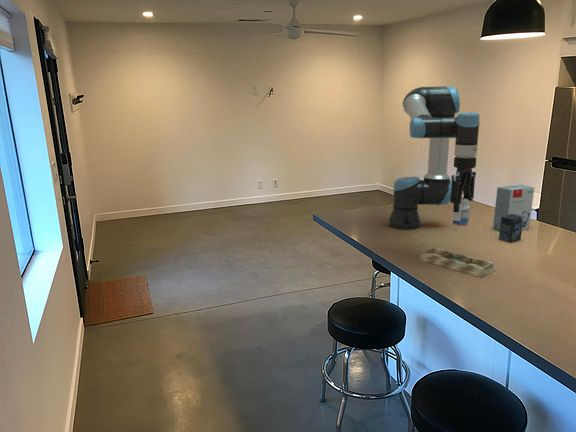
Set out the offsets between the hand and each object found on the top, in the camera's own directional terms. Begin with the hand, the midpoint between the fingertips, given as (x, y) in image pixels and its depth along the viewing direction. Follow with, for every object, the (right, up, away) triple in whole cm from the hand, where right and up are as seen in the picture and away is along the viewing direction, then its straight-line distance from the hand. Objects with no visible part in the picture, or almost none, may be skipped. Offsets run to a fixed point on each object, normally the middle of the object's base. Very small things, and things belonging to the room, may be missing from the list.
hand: (460, 219), depth 174 cm
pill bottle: (0, -2, +1) cm, 3 cm away
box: (+32, -9, +29) cm, 44 cm away
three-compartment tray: (-2, -17, 0) cm, 17 cm away
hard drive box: (+40, -5, +45) cm, 60 cm away
